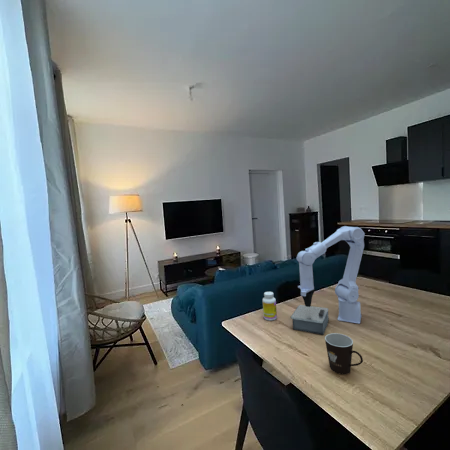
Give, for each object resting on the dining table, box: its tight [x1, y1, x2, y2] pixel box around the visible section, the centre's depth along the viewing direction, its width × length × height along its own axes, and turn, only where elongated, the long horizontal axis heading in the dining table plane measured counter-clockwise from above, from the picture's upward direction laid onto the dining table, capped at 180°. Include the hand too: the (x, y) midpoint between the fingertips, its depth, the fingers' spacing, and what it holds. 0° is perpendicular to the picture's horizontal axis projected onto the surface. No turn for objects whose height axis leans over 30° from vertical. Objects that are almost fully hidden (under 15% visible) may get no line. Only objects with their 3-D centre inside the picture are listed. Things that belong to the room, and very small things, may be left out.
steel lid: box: [290, 304, 329, 323], centre depth 114 cm, size 14×15×2 cm
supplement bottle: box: [262, 291, 278, 321], centre depth 124 cm, size 7×7×13 cm
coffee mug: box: [324, 332, 364, 375], centre depth 82 cm, size 12×9×10 cm
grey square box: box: [291, 311, 330, 336], centre depth 114 cm, size 13×14×5 cm
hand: (308, 306), depth 114 cm, fingers closed
